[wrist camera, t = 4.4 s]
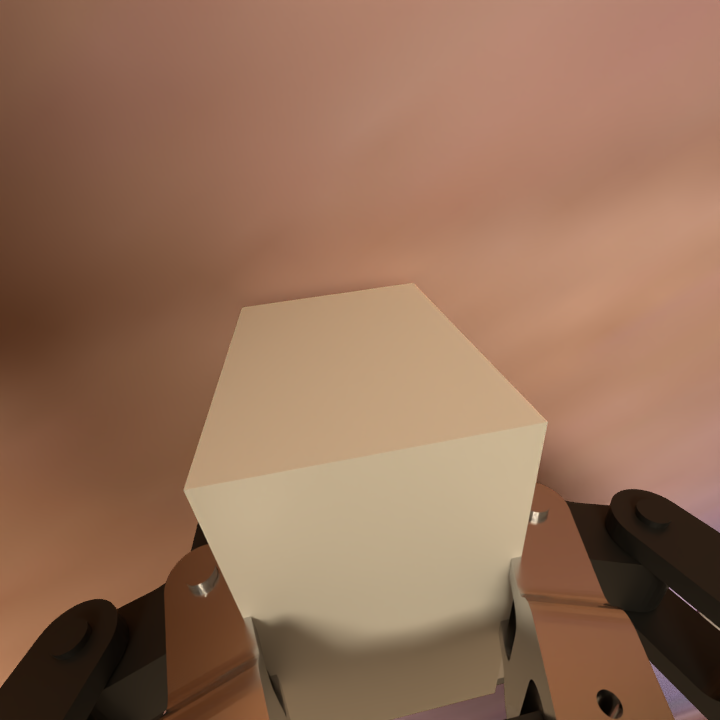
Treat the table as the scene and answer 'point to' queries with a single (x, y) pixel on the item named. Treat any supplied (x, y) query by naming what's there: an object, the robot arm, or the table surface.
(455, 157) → the table surface
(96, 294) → the table surface
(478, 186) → the table surface
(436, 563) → the block
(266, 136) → the table surface
